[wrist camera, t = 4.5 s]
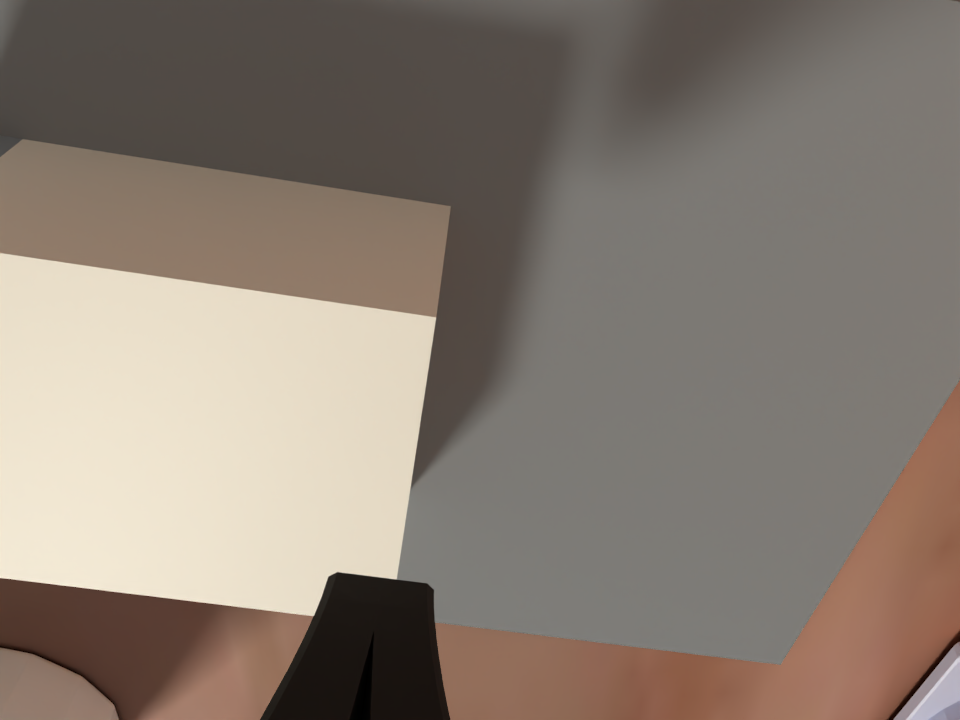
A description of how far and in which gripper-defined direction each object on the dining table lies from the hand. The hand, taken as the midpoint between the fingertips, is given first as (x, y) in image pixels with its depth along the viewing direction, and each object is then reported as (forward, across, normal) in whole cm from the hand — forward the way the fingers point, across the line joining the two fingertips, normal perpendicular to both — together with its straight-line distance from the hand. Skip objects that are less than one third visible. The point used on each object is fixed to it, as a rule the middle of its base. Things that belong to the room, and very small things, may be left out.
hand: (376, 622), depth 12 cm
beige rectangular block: (+4, 0, 0) cm, 4 cm away
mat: (+6, 0, 0) cm, 6 cm away
